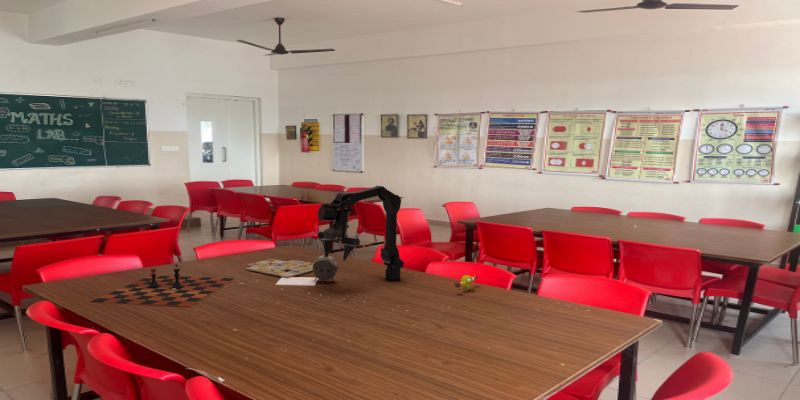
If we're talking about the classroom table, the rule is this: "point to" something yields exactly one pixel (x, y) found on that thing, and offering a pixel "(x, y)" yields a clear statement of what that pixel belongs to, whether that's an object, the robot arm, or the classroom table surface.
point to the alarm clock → (325, 268)
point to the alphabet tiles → (281, 267)
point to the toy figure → (466, 281)
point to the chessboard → (165, 290)
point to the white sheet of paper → (297, 281)
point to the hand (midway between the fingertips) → (335, 258)
